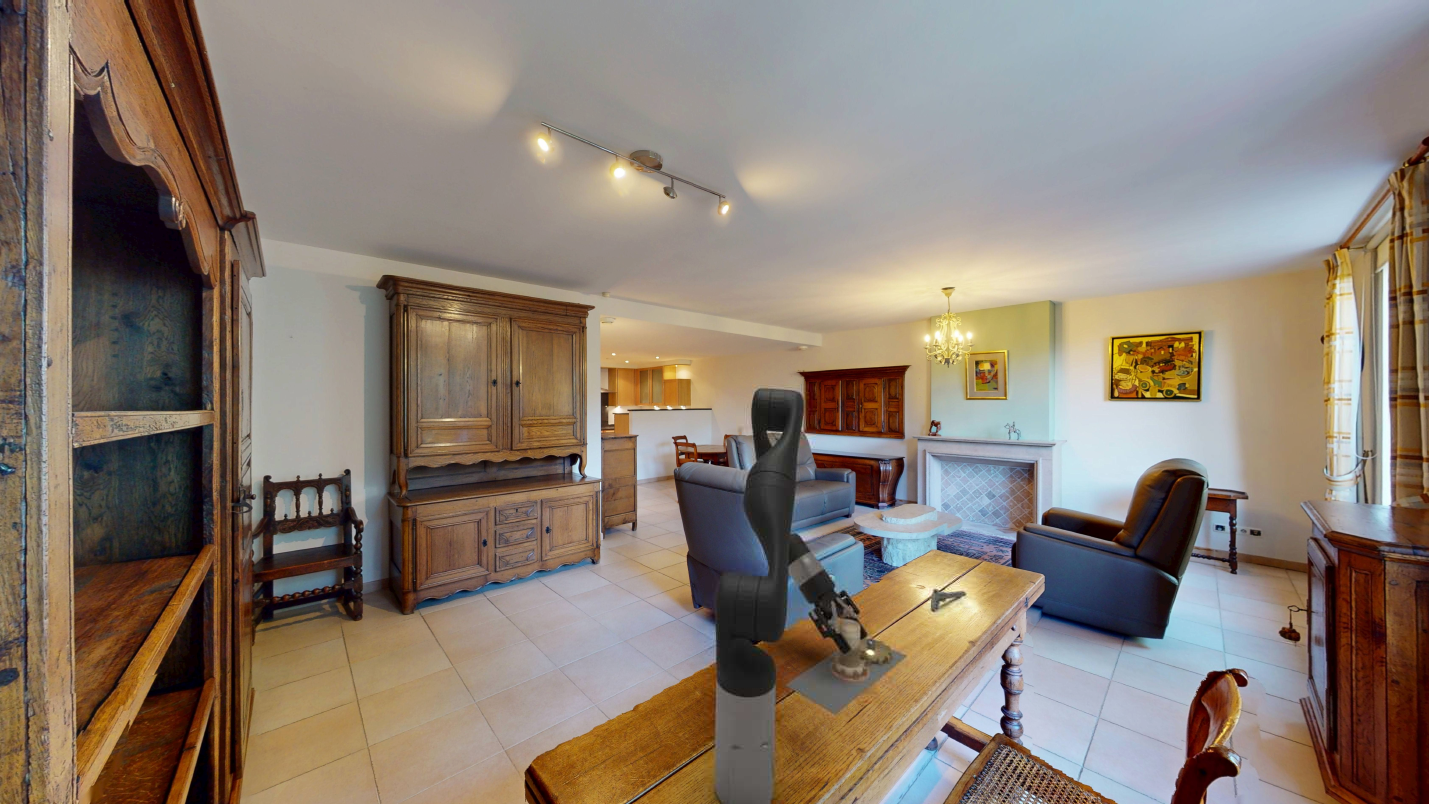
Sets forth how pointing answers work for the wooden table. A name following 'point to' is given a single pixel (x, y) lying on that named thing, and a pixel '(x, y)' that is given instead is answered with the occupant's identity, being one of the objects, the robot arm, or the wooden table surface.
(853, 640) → the beech gear spindle
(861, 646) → the brass gear
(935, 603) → the caliper
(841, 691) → the gear board
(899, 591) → the wooden table surface
